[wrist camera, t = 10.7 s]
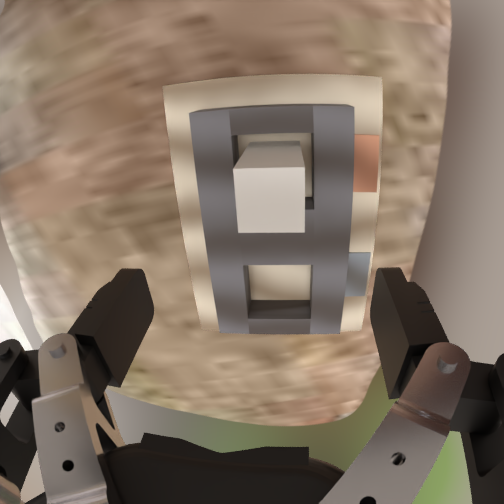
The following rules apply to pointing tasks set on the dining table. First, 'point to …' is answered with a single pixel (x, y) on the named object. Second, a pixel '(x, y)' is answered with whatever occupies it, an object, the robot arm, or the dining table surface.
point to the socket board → (260, 94)
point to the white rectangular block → (270, 188)
